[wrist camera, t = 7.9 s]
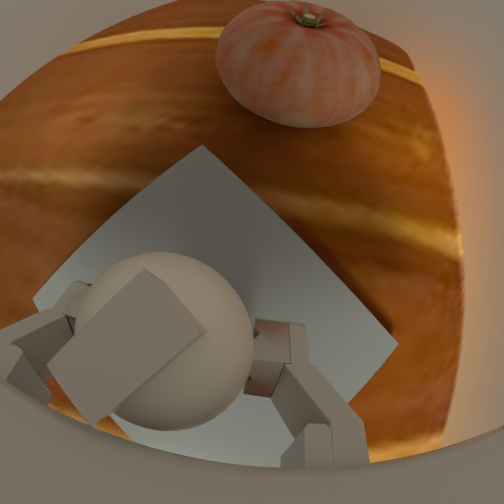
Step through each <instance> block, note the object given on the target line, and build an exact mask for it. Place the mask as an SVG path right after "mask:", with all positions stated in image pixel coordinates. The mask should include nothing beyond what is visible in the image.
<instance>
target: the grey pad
mask: <svg viewBox="0 0 504 504" xmlns="http://www.w3.org/2000/svg"><path fill="white" fill-rule="evenodd" d="M149 252H169V253H176V254H180V255H184V256H188V257H191V258H193V259H196V260H198V261H201V262H202V263H204V264H206V265H208V266H210V267H211V268H212V269H214V270H215V271H216V272H218V273H219V274H220V275H221V276H222V277H223V278H224V279H225V280H227V281H228V282H229V284H230V285H231V286H232V287H233V289H234V290H235V291H236V292H237V294H238V296H239V297H240V299H241V300H242V302H243V304H244V306H245V308H246V311H247V313H248V316H249V319H250V322H251V325H252V327H253V323H254V319H255V318H261V319H268V320H276V321H284V322H294V323H303V324H305V326H306V334H307V343H308V352H309V362H310V366H315V367H316V368H317V369H318V371H319V372H320V373H321V374H322V375H323V376H324V378H325V379H326V380H327V381H328V382H329V383H330V385H331V386H332V387H333V388H334V389H335V390H336V391H337V393H338V394H339V395H340V396H341V397H342V398H343V399H344V401H345V402H346V403H348V402H349V401H350V400H351V399H352V398H353V397H354V396H355V395H356V394H357V393H358V392H359V391H360V390H361V388H362V387H363V386H364V385H365V384H366V383H367V382H368V381H369V379H370V378H371V377H372V376H373V375H374V374H375V372H376V371H377V370H378V369H379V368H380V367H381V365H382V364H383V363H384V362H385V360H386V359H387V358H388V357H389V355H390V354H391V353H392V352H393V350H394V349H395V348H396V347H397V345H398V343H397V342H396V341H395V339H394V338H393V337H392V336H391V335H390V334H389V333H388V331H387V330H386V329H385V328H384V327H383V326H382V325H381V324H380V322H379V321H378V320H377V319H376V318H375V317H374V316H373V315H372V314H371V312H370V311H369V310H368V309H367V308H366V307H365V306H364V305H363V304H362V302H361V301H360V300H359V299H358V298H357V297H356V296H355V295H354V294H353V293H352V292H351V291H350V289H349V288H348V287H347V286H346V285H345V284H344V283H343V282H342V281H341V280H340V279H339V278H338V277H337V276H336V274H335V273H334V272H333V271H332V270H331V269H330V268H329V267H328V266H327V265H326V264H325V263H324V262H323V261H322V260H321V259H320V258H319V257H318V256H317V255H316V254H315V253H314V252H313V250H312V249H311V248H310V247H309V246H308V245H307V244H306V243H305V242H304V241H303V240H302V239H301V238H300V237H299V236H298V235H297V234H296V233H295V232H294V231H293V230H292V229H291V228H290V227H289V226H288V225H287V224H286V223H285V222H284V221H283V220H282V219H281V218H280V217H279V216H278V215H277V214H276V213H275V212H274V211H273V210H272V209H271V208H270V207H269V206H268V205H267V204H266V203H265V202H263V201H262V200H261V199H260V198H259V197H258V196H257V195H256V194H255V193H254V192H253V191H252V190H251V189H250V188H249V187H248V186H247V185H246V184H245V183H244V182H243V181H242V180H241V179H239V178H238V177H237V176H236V175H235V174H234V173H233V172H232V171H231V170H230V169H229V168H228V167H227V166H226V165H225V164H223V163H222V162H221V161H220V160H219V159H218V158H217V157H216V156H215V155H214V154H213V153H211V152H210V151H209V150H208V149H207V148H206V147H205V146H204V145H203V144H202V145H200V146H199V147H198V148H196V149H195V150H193V151H192V152H191V153H189V154H188V155H187V156H185V157H184V158H182V159H181V160H180V161H178V162H177V163H176V164H174V165H173V166H172V167H170V168H169V169H168V170H167V171H165V172H164V173H163V174H161V175H160V176H159V177H158V178H156V179H155V180H154V181H153V182H151V183H150V184H149V185H148V186H146V187H145V188H144V189H143V190H142V191H140V192H139V193H138V194H137V195H136V196H134V197H133V198H132V199H131V200H130V201H129V202H127V203H126V204H125V205H124V206H123V207H122V208H121V209H119V210H118V211H117V212H116V213H115V214H114V215H113V216H112V217H110V218H109V219H108V220H107V221H106V222H105V223H104V224H103V225H102V226H101V227H100V228H99V229H98V230H96V231H95V232H94V233H93V234H92V235H91V236H90V237H89V238H88V239H87V240H86V241H85V242H84V243H83V244H82V245H81V246H80V247H79V248H78V249H77V250H76V251H75V252H74V253H73V254H72V255H71V256H70V257H69V258H68V259H67V260H66V261H65V263H64V264H63V265H62V266H61V267H60V268H59V269H58V270H57V271H56V272H55V273H54V274H53V276H52V277H51V278H50V279H49V280H48V281H47V282H46V283H45V285H44V286H43V287H42V288H41V289H40V290H39V292H38V293H37V294H36V295H35V296H34V297H33V301H34V303H35V305H36V307H37V308H38V310H39V312H40V311H43V310H45V309H51V308H52V307H53V306H54V305H55V303H56V302H57V301H58V300H59V298H60V297H61V296H62V295H63V294H64V292H65V291H66V290H67V289H68V288H69V287H70V285H71V284H72V283H73V282H74V281H77V280H79V281H82V282H85V283H88V284H89V283H90V284H93V283H94V282H95V281H96V279H97V278H98V277H99V276H100V275H101V274H102V273H104V272H105V271H106V270H107V269H108V268H110V267H111V266H113V265H114V264H116V263H117V262H119V261H122V260H124V259H126V258H128V257H132V256H135V255H138V254H143V253H149ZM243 390H244V388H243V389H242V391H241V393H240V394H239V396H238V397H237V398H236V399H235V401H234V402H233V403H232V404H231V405H230V406H229V407H228V408H227V409H226V410H225V411H224V412H223V413H221V414H220V415H219V416H217V417H216V418H214V419H213V420H211V421H209V422H207V423H205V424H203V425H200V426H197V427H194V428H190V429H185V430H179V431H158V430H152V429H147V428H143V427H140V426H138V425H135V424H132V423H130V422H128V421H126V420H124V419H122V418H120V417H119V416H117V415H116V414H114V413H111V414H110V416H111V417H112V419H113V420H114V421H115V422H116V423H117V424H118V425H119V426H120V428H121V429H122V430H123V431H124V432H125V433H126V434H127V435H128V436H129V437H130V438H131V439H132V440H133V441H134V442H135V443H139V444H142V445H145V446H149V447H152V448H156V449H159V450H163V451H167V452H171V453H175V454H180V455H184V456H189V457H194V458H199V459H205V460H211V461H217V462H224V463H231V464H240V465H250V466H262V467H276V466H278V465H279V464H280V461H281V455H282V454H283V453H284V452H285V451H286V449H287V448H288V447H289V446H290V445H291V444H292V442H293V441H294V440H295V439H294V438H293V436H292V434H291V433H290V431H289V430H288V428H287V426H286V425H285V423H284V421H283V420H282V418H281V416H280V414H279V413H278V411H277V409H276V408H275V406H274V404H273V403H272V401H271V398H268V397H261V396H253V395H247V394H243Z"/></svg>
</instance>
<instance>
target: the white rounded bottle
mask: <svg viewBox="0 0 504 504" xmlns="http://www.w3.org/2000/svg"><path fill="white" fill-rule="evenodd" d="M253 353H254V338H253V331H252V325H251V322H250V319H249V316H248V313H247V311H246V308H245V306H244V304H243V302H242V300H241V299H240V297H239V296H238V294H237V292H236V291H235V290H234V289H233V287H232V286H231V285H230V284H229V282H228V281H227V280H225V279H224V278H223V277H222V276H221V275H220V274H219V273H218V272H216V271H215V270H214V269H212V268H211V267H210V266H208V265H206V264H204V263H202V262H201V261H198V260H196V259H193V258H191V257H188V256H184V255H180V254H176V253H169V252H149V253H143V254H138V255H135V256H132V257H128V258H126V259H124V260H122V261H119V262H117V263H116V264H114V265H113V266H111V267H110V268H108V269H107V270H106V271H105V272H104V273H102V274H101V275H100V276H99V277H98V278H97V279H96V281H95V282H94V283H93V284H92V285H91V287H90V288H89V290H88V291H87V293H86V294H85V296H84V298H83V300H82V302H81V305H80V308H79V310H78V314H77V318H76V323H75V333H74V336H73V337H72V338H71V339H70V340H69V341H68V342H67V343H66V344H65V345H64V347H63V348H62V349H61V350H60V351H59V352H58V353H57V354H56V355H55V356H54V357H53V358H52V359H51V360H50V362H49V363H48V364H47V366H48V368H49V370H50V371H51V373H52V374H53V376H54V377H55V379H56V380H57V382H58V383H59V385H60V386H61V388H62V389H63V391H64V392H65V393H66V395H67V396H68V398H69V399H70V400H71V402H72V403H73V404H74V406H75V407H76V408H77V410H78V411H79V412H80V413H81V415H82V416H83V417H84V418H85V420H86V421H87V422H88V423H89V425H90V426H93V425H94V424H96V423H98V422H99V421H101V420H102V419H104V418H105V417H107V416H108V415H110V414H111V413H114V414H116V415H117V416H119V417H120V418H122V419H124V420H126V421H128V422H130V423H132V424H135V425H138V426H140V427H143V428H147V429H152V430H158V431H179V430H185V429H190V428H194V427H197V426H200V425H203V424H205V423H207V422H209V421H211V420H213V419H214V418H216V417H217V416H219V415H220V414H221V413H223V412H224V411H225V410H226V409H227V408H228V407H229V406H230V405H231V404H232V403H233V402H234V401H235V399H236V398H237V397H238V396H239V394H240V393H241V391H242V389H243V388H244V386H245V384H246V382H247V379H248V377H249V374H250V370H251V366H252V362H253Z"/></svg>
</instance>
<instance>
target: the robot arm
mask: <svg viewBox="0 0 504 504" xmlns="http://www.w3.org/2000/svg"><path fill="white" fill-rule="evenodd" d="M91 285H92V284H90V283H89V284H88V283H85V282H82V281H79V280H77V281H74V282H73V283H72V284H71V285H70V287H69V288H68V289H67V290H66V291H65V292H64V294H63V295H62V296H61V297H60V298H59V300H58V301H57V302H56V303H55V305H54V306H53V307H52V308H51V309H45V310H43V311H40V312H38V313H36V314H34V315H32V316H30V317H27V318H25V319H23V320H21V321H19V322H17V323H14V324H12V325H10V326H8V327H6V328H4V329H2V330H0V504H504V426H500V427H498V428H496V429H493V430H491V431H489V432H486V433H484V434H481V435H479V436H476V437H474V438H471V439H468V440H465V441H462V442H459V443H456V444H453V445H450V446H447V447H443V448H440V449H437V450H433V451H429V452H425V453H421V454H417V455H413V456H408V457H403V458H398V459H393V460H387V461H381V462H375V463H369V455H368V448H367V442H366V435H365V429H364V423H363V421H362V420H361V419H360V417H359V416H358V415H357V414H356V413H355V412H354V411H353V410H352V408H351V407H350V406H349V405H348V404H347V403H346V402H345V401H344V399H343V398H342V397H341V396H340V395H339V394H338V393H337V391H336V390H335V389H334V388H333V387H332V386H331V385H330V383H329V382H328V381H327V380H326V379H325V378H324V376H323V375H322V374H321V373H320V372H319V371H318V369H317V368H316V367H315V366H310V362H309V352H308V343H307V334H306V326H305V324H303V323H294V322H284V321H276V320H268V319H261V318H255V319H254V323H253V327H252V331H253V338H254V353H253V362H252V366H251V370H250V374H249V377H248V379H247V382H246V384H245V386H244V390H243V394H247V395H253V396H261V397H268V398H271V401H272V403H273V404H274V406H275V408H276V409H277V411H278V413H279V414H280V416H281V418H282V420H283V421H284V423H285V425H286V426H287V428H288V430H289V431H290V433H291V434H292V436H293V438H294V439H295V440H294V441H293V442H292V444H291V445H290V446H289V447H288V448H287V449H286V451H285V452H284V453H283V454H282V455H281V461H280V467H262V466H250V465H240V464H231V463H224V462H217V461H211V460H205V459H199V458H194V457H189V456H184V455H180V454H175V453H171V452H167V451H163V450H159V449H156V448H152V447H149V446H145V445H142V444H139V443H135V442H132V441H129V440H126V439H123V438H120V437H117V436H115V435H112V434H109V433H107V432H104V431H101V430H99V429H96V428H94V427H91V426H89V425H87V424H84V423H82V422H80V421H78V420H75V419H73V418H71V417H69V416H67V415H65V414H63V413H61V412H59V411H57V410H55V409H53V408H51V407H49V406H47V405H48V402H49V400H50V398H51V394H50V392H49V390H48V389H47V388H46V386H45V385H44V382H45V381H47V380H48V379H50V378H51V377H52V376H53V374H52V373H51V371H50V370H49V368H48V366H47V364H48V363H49V362H50V360H51V359H52V358H53V357H54V356H55V355H56V354H57V353H58V352H59V351H60V350H61V349H62V348H63V347H64V345H65V344H66V343H67V342H68V341H69V340H70V339H71V338H72V337H73V336H74V333H75V323H76V318H77V314H78V310H79V308H80V305H81V302H82V300H83V298H84V296H85V294H86V293H87V291H88V290H89V288H90V287H91Z"/></svg>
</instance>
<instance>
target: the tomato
mask: <svg viewBox="0 0 504 504" xmlns="http://www.w3.org/2000/svg"><path fill="white" fill-rule="evenodd" d="M215 65H216V69H217V72H218V74H219V76H220V78H221V80H222V82H223V84H224V85H225V87H226V88H227V90H228V91H229V93H230V94H231V95H232V97H233V98H234V99H235V100H236V101H237V102H239V103H240V104H241V105H242V106H243V107H245V108H246V109H248V110H249V111H251V112H252V113H254V114H256V115H258V116H260V117H263V118H265V119H267V120H270V121H272V122H275V123H278V124H282V125H286V126H290V127H298V128H320V127H328V126H333V125H337V124H340V123H343V122H346V121H348V120H350V119H352V118H354V117H356V116H357V115H359V114H360V113H361V112H363V111H364V110H365V109H366V108H367V107H368V106H369V105H370V104H371V103H372V101H373V100H374V98H375V96H376V95H377V93H378V90H379V86H380V81H381V67H380V61H379V57H378V54H377V52H376V49H375V47H374V45H373V43H372V41H371V39H370V38H369V37H368V35H367V34H366V33H365V32H364V31H363V30H362V29H360V28H359V27H357V26H356V25H355V24H354V23H353V22H352V21H351V20H349V19H347V18H346V17H345V16H343V15H341V14H339V13H337V12H335V11H333V10H331V9H327V8H324V7H320V6H317V5H315V4H311V3H306V2H300V1H270V2H265V3H260V4H256V5H253V6H251V7H249V8H247V9H245V10H244V11H242V12H241V13H240V14H239V15H237V16H236V17H234V18H233V19H232V20H231V21H230V22H229V23H228V24H227V25H226V27H225V28H224V30H223V31H222V33H221V35H220V37H219V40H218V43H217V46H216V51H215Z"/></svg>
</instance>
